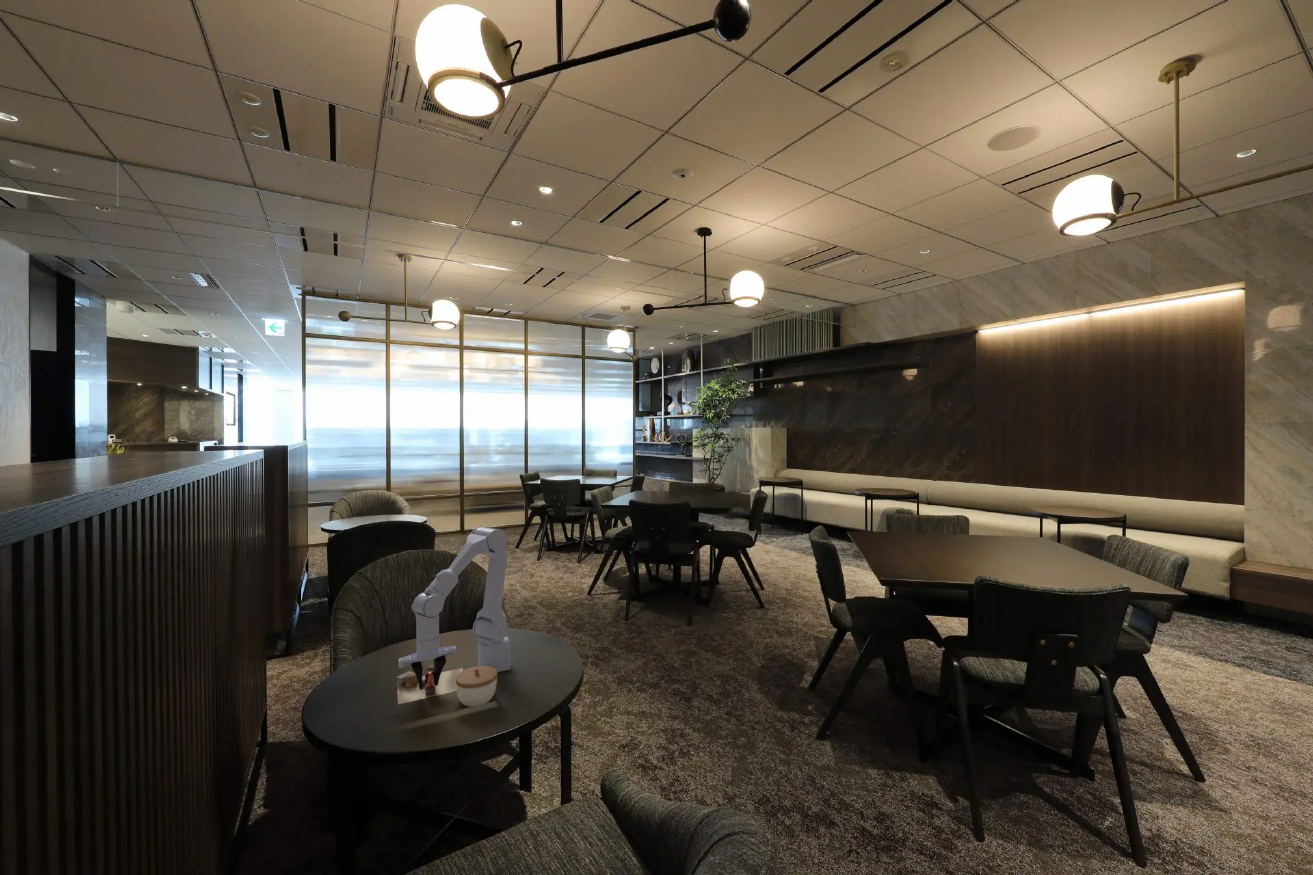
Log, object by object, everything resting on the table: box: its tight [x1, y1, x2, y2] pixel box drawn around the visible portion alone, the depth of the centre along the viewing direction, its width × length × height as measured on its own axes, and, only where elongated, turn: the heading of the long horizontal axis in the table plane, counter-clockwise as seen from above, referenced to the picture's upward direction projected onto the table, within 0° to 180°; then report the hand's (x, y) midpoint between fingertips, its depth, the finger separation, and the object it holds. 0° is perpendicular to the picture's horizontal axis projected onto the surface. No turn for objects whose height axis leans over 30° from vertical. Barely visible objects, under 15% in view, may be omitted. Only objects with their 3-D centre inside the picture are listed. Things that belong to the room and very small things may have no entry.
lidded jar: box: [456, 665, 498, 710], centre depth 138 cm, size 11×11×9 cm
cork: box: [406, 671, 418, 688], centre depth 145 cm, size 3×3×3 cm
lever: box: [422, 668, 435, 695], centre depth 146 cm, size 5×14×6 cm, turn 24°
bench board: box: [396, 664, 464, 706], centre depth 146 cm, size 18×14×4 cm
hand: (428, 685), depth 141 cm, fingers open, 3 cm apart
